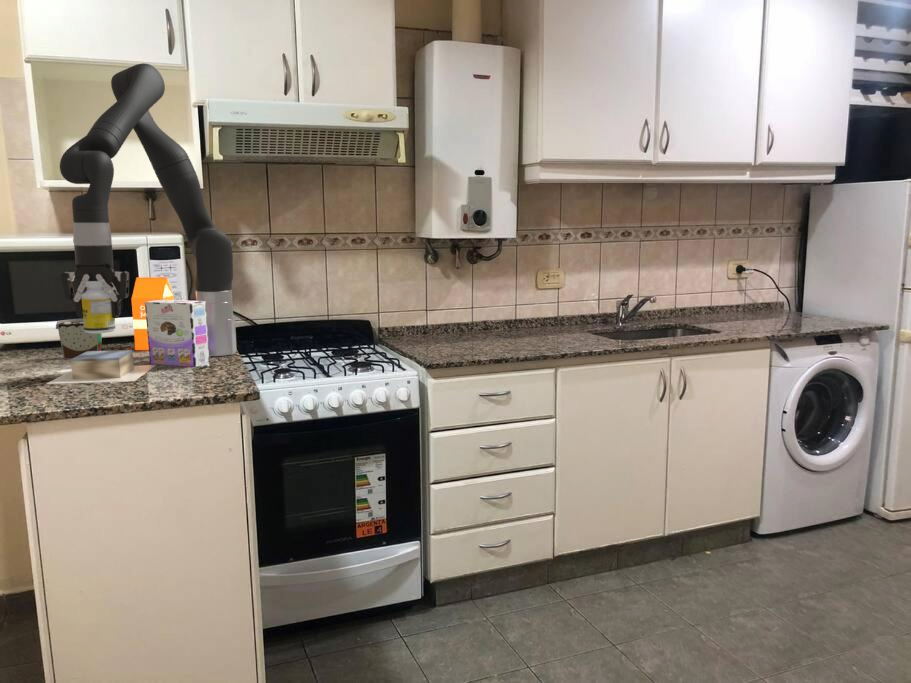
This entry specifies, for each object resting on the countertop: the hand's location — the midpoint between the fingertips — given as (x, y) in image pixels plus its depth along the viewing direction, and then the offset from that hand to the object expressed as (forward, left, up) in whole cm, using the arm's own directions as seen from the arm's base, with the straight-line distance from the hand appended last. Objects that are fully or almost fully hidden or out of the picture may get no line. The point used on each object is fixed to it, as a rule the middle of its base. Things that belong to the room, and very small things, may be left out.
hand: (99, 317), depth 161 cm
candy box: (-14, -11, -14) cm, 23 cm away
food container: (+13, -28, -14) cm, 34 cm away
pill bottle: (0, 0, -3) cm, 3 cm away
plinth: (0, 0, -13) cm, 13 cm away
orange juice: (-1, -41, -14) cm, 43 cm away
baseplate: (0, 0, -14) cm, 14 cm away
